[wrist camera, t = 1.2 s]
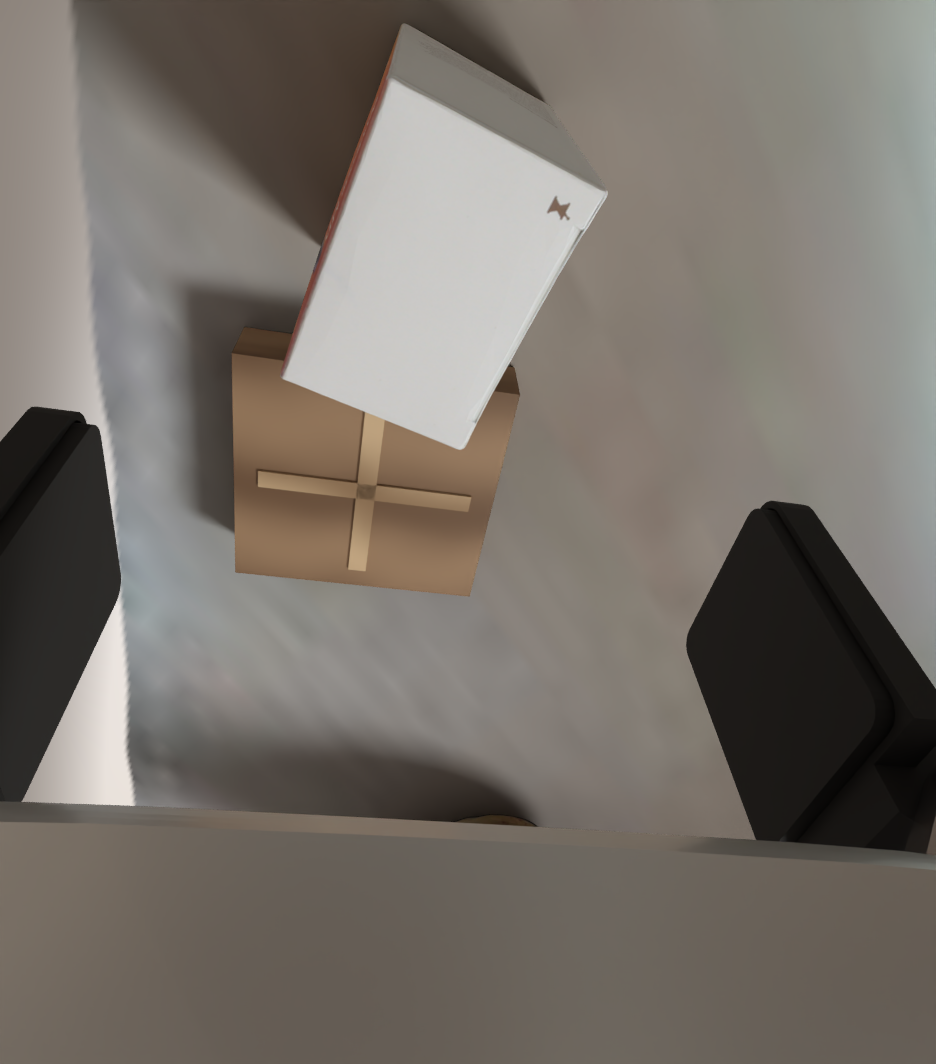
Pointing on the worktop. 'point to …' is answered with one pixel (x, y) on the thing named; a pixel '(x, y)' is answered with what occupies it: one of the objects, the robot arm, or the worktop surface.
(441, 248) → the small box
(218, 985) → the robot arm
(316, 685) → the worktop surface
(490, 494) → the brown cardboard box
